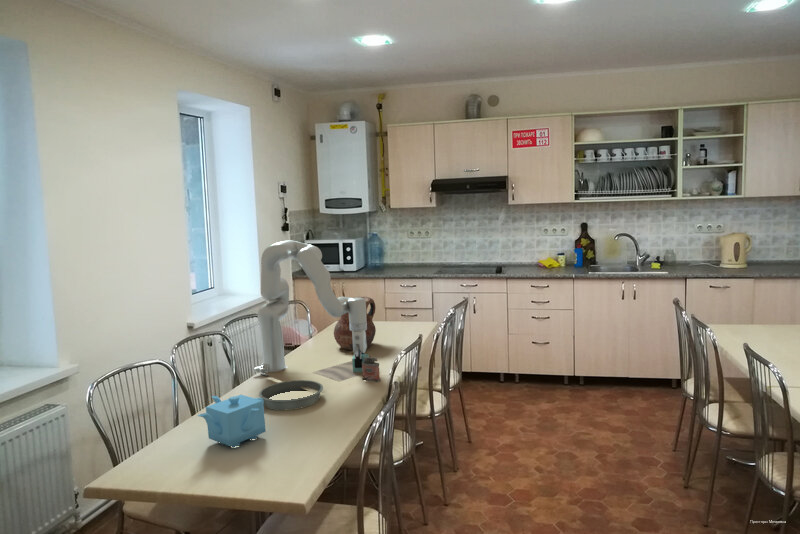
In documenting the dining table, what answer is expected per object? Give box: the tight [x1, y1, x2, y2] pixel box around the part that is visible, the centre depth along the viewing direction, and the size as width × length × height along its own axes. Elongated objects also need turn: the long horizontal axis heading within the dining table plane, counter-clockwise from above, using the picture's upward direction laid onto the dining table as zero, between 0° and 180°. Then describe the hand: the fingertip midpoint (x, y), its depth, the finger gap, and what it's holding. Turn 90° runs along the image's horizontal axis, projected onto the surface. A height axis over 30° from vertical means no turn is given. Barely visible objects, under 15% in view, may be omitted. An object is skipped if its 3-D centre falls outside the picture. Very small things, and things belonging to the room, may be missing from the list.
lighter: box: [362, 356, 381, 383], centre depth 257 cm, size 8×3×10 cm, turn 62°
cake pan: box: [258, 379, 324, 411], centre depth 238 cm, size 25×25×4 cm
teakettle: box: [197, 394, 267, 447], centre depth 201 cm, size 19×19×15 cm
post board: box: [312, 360, 363, 382], centre depth 268 cm, size 22×20×6 cm
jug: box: [333, 296, 377, 351], centre depth 312 cm, size 22×21×25 cm
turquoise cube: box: [351, 353, 370, 372], centre depth 268 cm, size 6×6×6 cm
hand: (360, 364), depth 268 cm, fingers open, 9 cm apart
